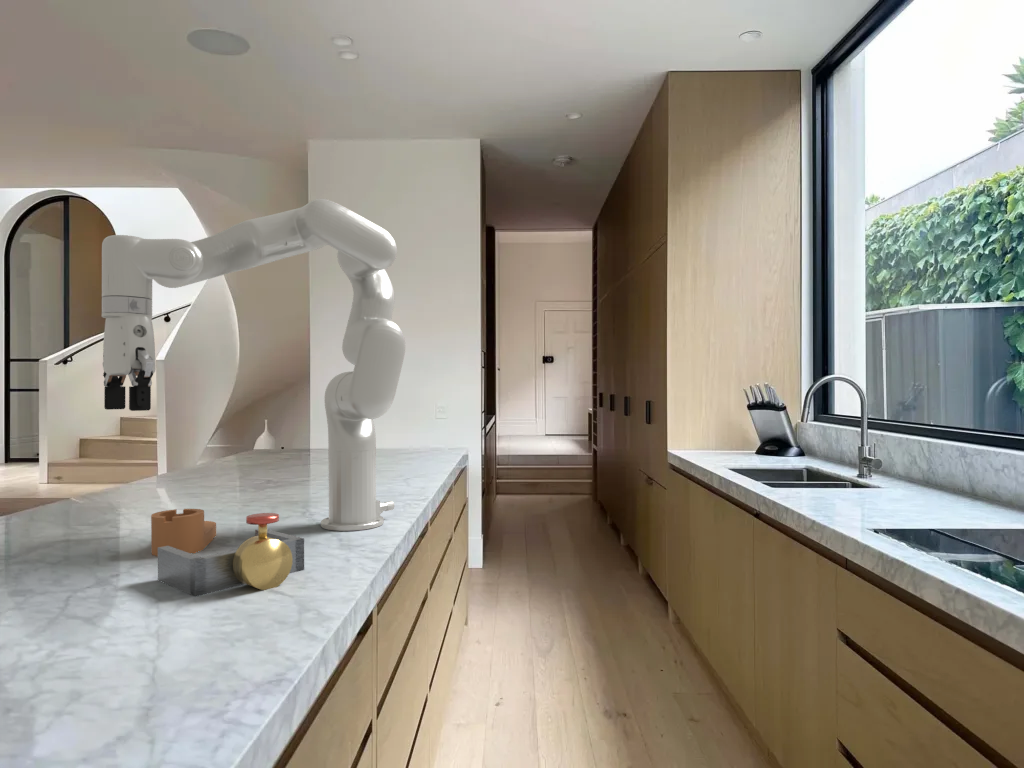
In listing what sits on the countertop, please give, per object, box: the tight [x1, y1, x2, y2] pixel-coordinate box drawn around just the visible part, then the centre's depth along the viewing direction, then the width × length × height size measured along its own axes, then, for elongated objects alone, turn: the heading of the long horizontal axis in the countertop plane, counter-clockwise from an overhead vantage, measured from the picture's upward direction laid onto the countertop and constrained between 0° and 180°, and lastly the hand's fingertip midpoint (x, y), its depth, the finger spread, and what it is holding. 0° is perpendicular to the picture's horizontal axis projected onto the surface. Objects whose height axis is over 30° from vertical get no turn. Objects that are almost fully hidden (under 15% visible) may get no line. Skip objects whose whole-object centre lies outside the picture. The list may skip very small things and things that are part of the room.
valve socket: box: [157, 512, 305, 598], centre depth 101 cm, size 17×17×10 cm
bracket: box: [150, 508, 217, 557], centre depth 123 cm, size 18×8×7 cm, turn 12°
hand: (127, 409), depth 115 cm, fingers open, 9 cm apart
